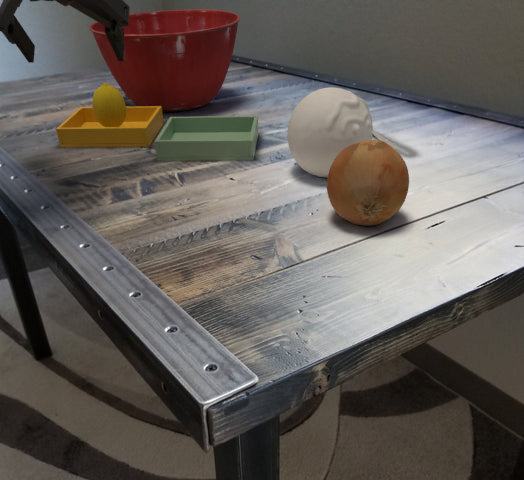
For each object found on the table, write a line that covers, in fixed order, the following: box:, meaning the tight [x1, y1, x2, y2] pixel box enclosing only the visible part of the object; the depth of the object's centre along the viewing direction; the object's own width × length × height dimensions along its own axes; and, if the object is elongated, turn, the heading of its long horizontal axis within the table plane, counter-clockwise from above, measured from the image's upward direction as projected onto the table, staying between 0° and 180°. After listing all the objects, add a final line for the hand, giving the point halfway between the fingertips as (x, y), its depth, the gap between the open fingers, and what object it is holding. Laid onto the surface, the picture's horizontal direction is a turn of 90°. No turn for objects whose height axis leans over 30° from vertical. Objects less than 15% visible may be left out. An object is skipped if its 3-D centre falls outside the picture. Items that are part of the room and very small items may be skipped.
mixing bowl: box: [88, 8, 241, 113], centre depth 115 cm, size 28×28×15 cm
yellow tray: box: [55, 105, 165, 148], centre depth 102 cm, size 15×13×4 cm
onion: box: [326, 139, 410, 227], centre depth 70 cm, size 10×10×10 cm
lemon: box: [92, 82, 127, 127], centre depth 100 cm, size 6×6×8 cm
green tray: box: [154, 115, 259, 162], centre depth 95 cm, size 15×13×4 cm
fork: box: [372, 129, 400, 150], centre depth 99 cm, size 3×24×2 cm, turn 21°
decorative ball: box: [286, 86, 374, 179], centre depth 82 cm, size 12×12×12 cm
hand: (76, 53), depth 86 cm, fingers open, 13 cm apart
